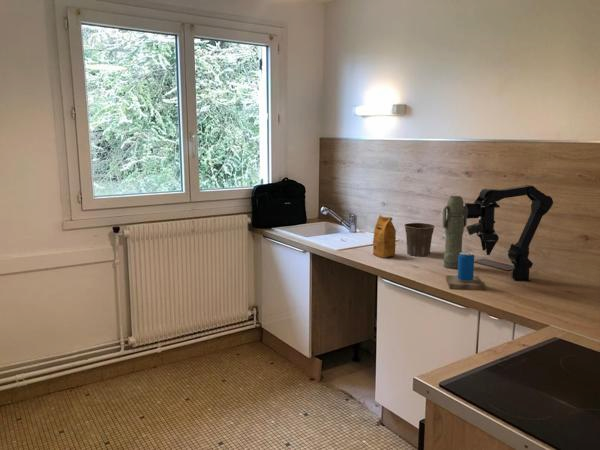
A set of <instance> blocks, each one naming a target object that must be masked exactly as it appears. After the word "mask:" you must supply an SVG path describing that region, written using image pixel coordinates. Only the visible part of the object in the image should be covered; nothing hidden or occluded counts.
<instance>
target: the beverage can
mask: <svg viewBox="0 0 600 450" xmlns="http://www.w3.org/2000/svg"><path fill="white" fill-rule="evenodd" d="M474 269H475V256H474V253H473V252H471V251H462V252H460V254H459V257H458V269H457V276H458V279H459V280H460V281H463V282H470V281H471V280H473V276H474Z"/></svg>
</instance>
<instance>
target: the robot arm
mask: <svg viewBox="0 0 600 450" xmlns="http://www.w3.org/2000/svg"><path fill="white" fill-rule="evenodd" d="M523 196H526V197H527V198H528V199H529V200H530V201H531V204H530V211H531V212H530V215H529V217H528V218H527V221H526V224H525V225H524V228H523V230H522V232H521V234H520V237H519V238H518V241H517V242H516V243H515V244H514V243H511V244H510V246H509V249H508V251H507V252H508V254H507V256H508V260H510V261H511V264H512V268H511V271H510V272H511V273H510V275H511V278H512V279H513V281H516V282H517V281H519V282H524V281H525V282H530V281H531V279H530V269H532V267H533V262H532V261H531V260H530V259H529V255H530V245H531V242H532V241H533V238H534V236H535V234H536V232H537V229H538V227H539V225H540V223H541V221H542V218H543V217H544V216H545V215H546V214H547V213H548V212H549V211H550V210H551V208H552V206H553V204H554V200H553V198H552V197H551V196H550V195H546V194H545V193H543V192H542V191H540V190H539V189H537V188H536V187H535V186H534V185H531V184H525V185H521V186H515V187H507V188H500V189H499V188H483V189H481V191H480V192H479V195H478V196H477V198H476V199H475V200H474V202H473V203H472V202H471V203H469V202H465V203H464V205H463V206H464V208H463V211H462V213H463V217H464V218H465V219H467V220H468V219H469V220H470V219H471V220H472V219H478V222H477V223H473V224H470V225H468V226H467V225H466V226H465V227H466V231H467V233H468V235H469V236H472V235H474V234H476V236H478V237H479V239H480V244H481V249H482V251H486V256H491V253H492V251H493V249H494V248H495V246H496V244H497V243H498V241H499V238H500V237H499V235H498V233H496V230H495V229H494V228H495V224H496V220H495V214H496V212H495V211H496V209H497V208H501V206H500V205H499V204H498V203H497V202H500V201H501V200H503V199H507V198H509V199H510V198H514V197H523ZM479 218H480V219H479Z"/></svg>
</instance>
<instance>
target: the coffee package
mask: <svg viewBox="0 0 600 450" xmlns="http://www.w3.org/2000/svg"><path fill="white" fill-rule="evenodd" d="M392 220H393V217H391V216H383V215H382V214H379V216H378V218H377V220H376V223H375V227H374V231H373V238H372V239H373V240H372V255H374V256H376V257H377V258H382V259H385V258H389V257H395V256H396V245H397V244H396V239H397V238H396V237H397V236H396V235H397V231H396V227H395V226H394V224H393V221H392Z"/></svg>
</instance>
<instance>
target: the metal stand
mask: <svg viewBox="0 0 600 450" xmlns="http://www.w3.org/2000/svg"><path fill="white" fill-rule="evenodd" d="M445 281H446V283H447V285H448V289H451V290H470V291H471V290H474V291H475V290H476V291H477V290H478V291H485V284H484V282H483V280H482V279H481V278H480V276H478V275H473V280H471V281H470V282H463V281H460V280H459V279H458V275H450V274H449V275H445Z"/></svg>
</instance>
